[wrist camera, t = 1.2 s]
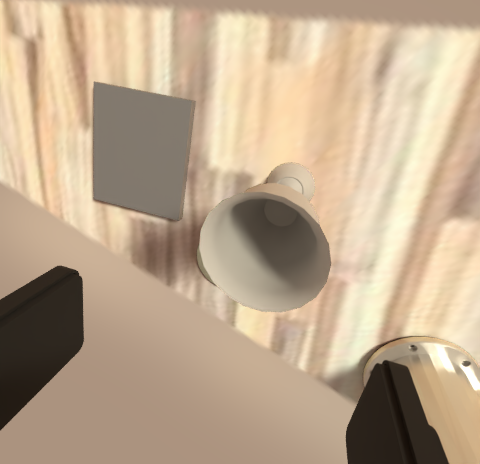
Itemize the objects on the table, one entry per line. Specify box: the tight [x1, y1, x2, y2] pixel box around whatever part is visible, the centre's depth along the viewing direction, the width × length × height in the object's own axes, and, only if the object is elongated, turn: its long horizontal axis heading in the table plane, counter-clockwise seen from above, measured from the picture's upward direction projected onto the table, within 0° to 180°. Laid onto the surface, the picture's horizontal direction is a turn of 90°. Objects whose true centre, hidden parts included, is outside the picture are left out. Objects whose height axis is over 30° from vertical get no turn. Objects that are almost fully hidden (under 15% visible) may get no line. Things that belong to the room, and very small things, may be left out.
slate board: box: [94, 82, 195, 221], centre depth 36 cm, size 11×13×1 cm
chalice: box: [199, 162, 331, 312], centre depth 25 cm, size 7×7×18 cm
